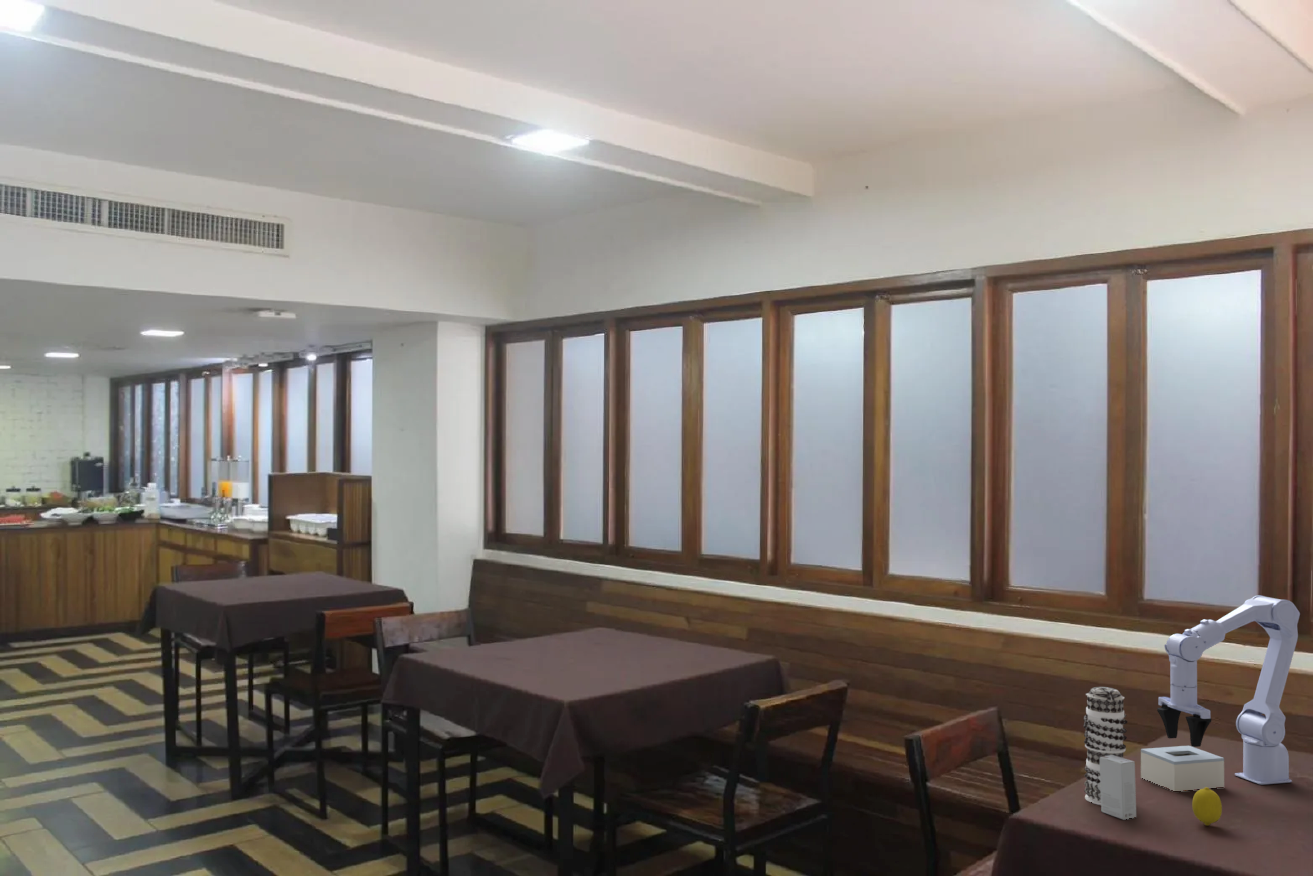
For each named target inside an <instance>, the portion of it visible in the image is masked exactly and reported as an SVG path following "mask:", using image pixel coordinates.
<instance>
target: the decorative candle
mask: <svg viewBox="0 0 1313 876" xmlns="http://www.w3.org/2000/svg"><path fill="white" fill-rule="evenodd" d="M1085 696H1086V698H1087V699H1086V703H1087V706H1086V707H1085V713H1086V714H1085V715H1084V716H1083V721H1084V723H1083V729H1084V730H1085V731H1084V734H1083V736H1084V737H1085V739H1084V741H1083V743H1084V747H1085V748H1086V749H1087V751H1086V755H1087V758H1085V759H1086V760H1085V762H1086V764H1085V767H1084V771H1085V772H1086V773H1085V774H1084V777H1085V778H1086V780H1085V781H1084V782H1083V783H1084V784H1083V785H1084V787H1085V788H1084V789H1083V791H1084V793H1085V796H1084V799H1085V801H1087V802H1089V803H1091V802H1092V803H1091V804H1094V805H1097V806H1101V784H1100V757H1103V756H1108V755H1114V756H1118V757H1121V758H1124V753H1125V752H1126V750H1127V745H1126V744H1124V741H1126V740H1127V736H1126V735H1125V734H1126V733H1127V732H1128V730H1127V729H1126V728H1125V727H1124V725H1127V724H1128V720H1127V719H1125V718H1127V714H1126V713H1125V710H1124V699H1125V696H1123V695H1122V694H1121V693H1120V691H1119V690H1118V689H1117V688H1113V687H1107V686H1095V687H1092V688H1090V691H1089V692H1086V693H1085Z"/></svg>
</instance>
